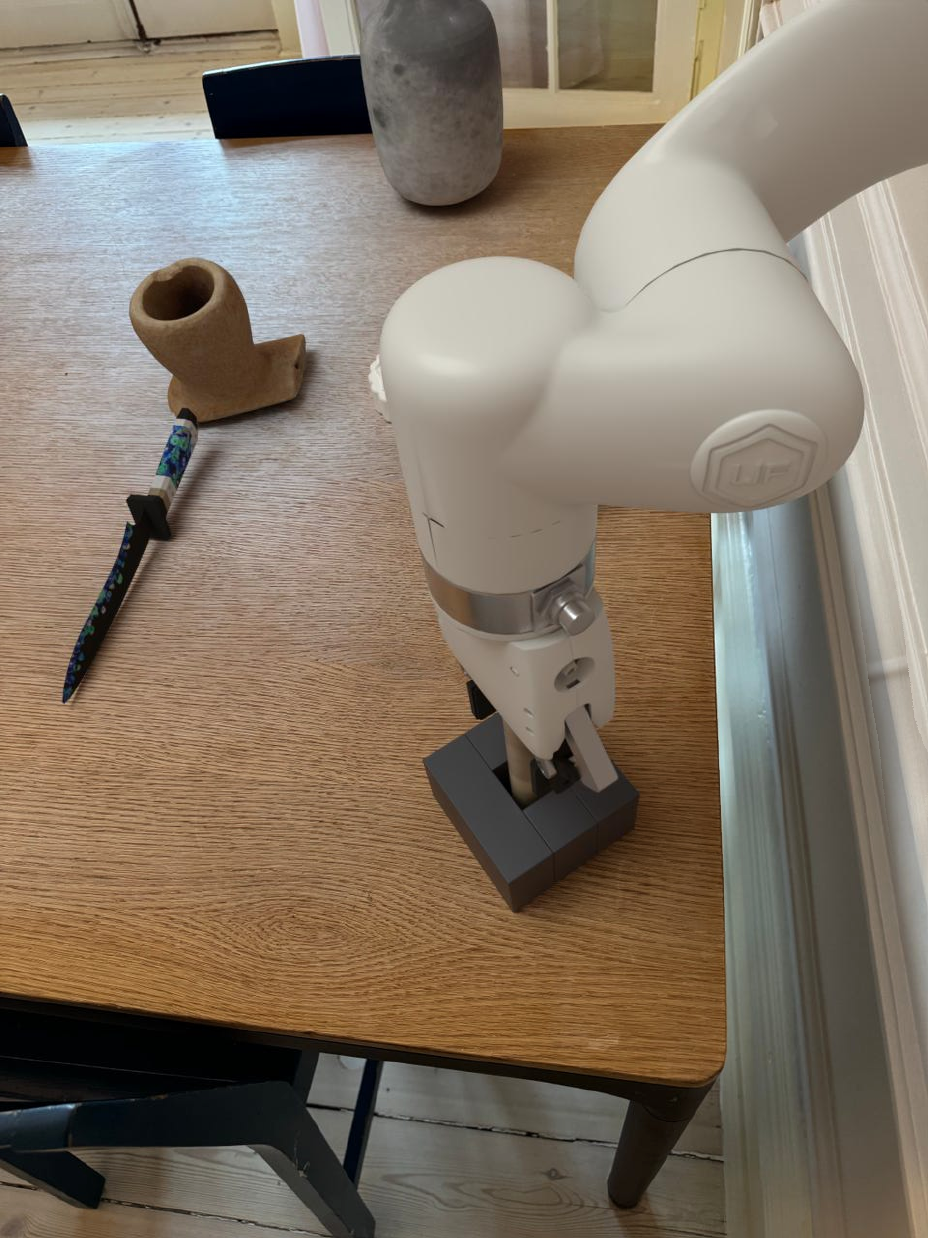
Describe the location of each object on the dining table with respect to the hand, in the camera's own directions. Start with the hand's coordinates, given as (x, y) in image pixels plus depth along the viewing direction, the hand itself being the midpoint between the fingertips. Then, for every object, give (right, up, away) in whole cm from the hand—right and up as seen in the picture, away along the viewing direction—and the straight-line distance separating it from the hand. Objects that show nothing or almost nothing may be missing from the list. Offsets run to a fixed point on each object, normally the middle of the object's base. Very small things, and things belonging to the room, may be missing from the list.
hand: (525, 741), depth 51 cm
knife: (-33, +12, +26) cm, 44 cm away
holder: (+1, -6, +9) cm, 11 cm away
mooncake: (-7, +31, +36) cm, 48 cm away
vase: (-6, +62, +59) cm, 86 cm away
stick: (+1, -6, +9) cm, 11 cm away
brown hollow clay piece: (-27, +31, +39) cm, 56 cm away
